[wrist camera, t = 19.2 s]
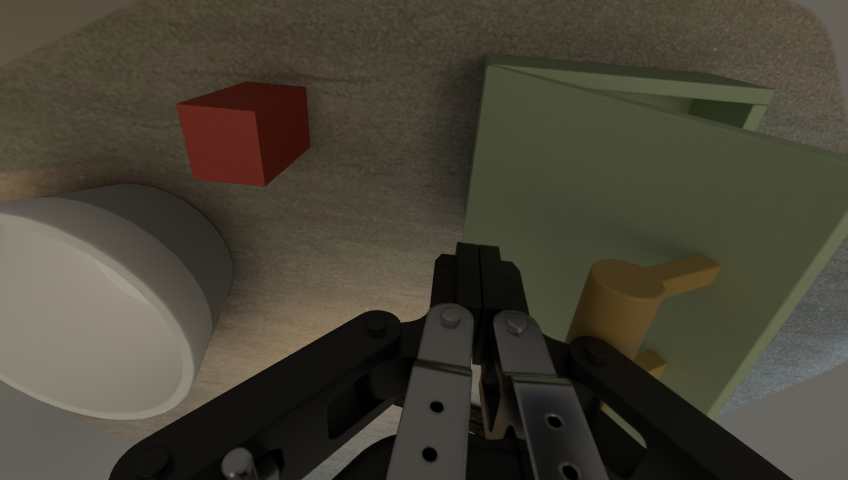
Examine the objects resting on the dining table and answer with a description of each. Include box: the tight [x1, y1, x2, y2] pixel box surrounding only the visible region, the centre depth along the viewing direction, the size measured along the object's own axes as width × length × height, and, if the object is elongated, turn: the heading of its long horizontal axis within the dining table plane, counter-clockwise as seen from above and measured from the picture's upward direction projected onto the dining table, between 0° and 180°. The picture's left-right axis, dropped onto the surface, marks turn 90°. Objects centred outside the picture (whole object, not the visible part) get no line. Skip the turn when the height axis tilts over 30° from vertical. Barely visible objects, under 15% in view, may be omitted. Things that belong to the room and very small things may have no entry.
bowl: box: [0, 184, 234, 420], centre depth 32 cm, size 19×19×11 cm
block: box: [176, 82, 310, 186], centre depth 26 cm, size 4×4×8 cm
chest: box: [464, 54, 776, 218], centre depth 26 cm, size 15×12×6 cm
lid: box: [462, 65, 848, 448], centre depth 16 cm, size 15×12×5 cm
